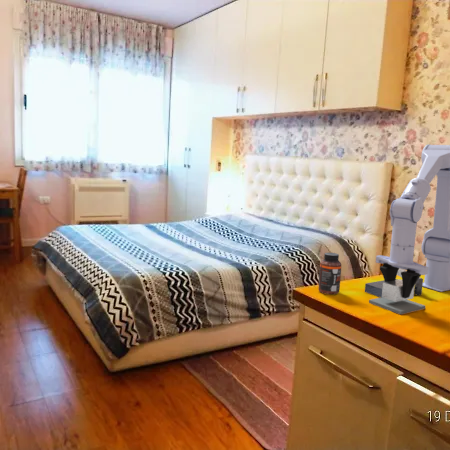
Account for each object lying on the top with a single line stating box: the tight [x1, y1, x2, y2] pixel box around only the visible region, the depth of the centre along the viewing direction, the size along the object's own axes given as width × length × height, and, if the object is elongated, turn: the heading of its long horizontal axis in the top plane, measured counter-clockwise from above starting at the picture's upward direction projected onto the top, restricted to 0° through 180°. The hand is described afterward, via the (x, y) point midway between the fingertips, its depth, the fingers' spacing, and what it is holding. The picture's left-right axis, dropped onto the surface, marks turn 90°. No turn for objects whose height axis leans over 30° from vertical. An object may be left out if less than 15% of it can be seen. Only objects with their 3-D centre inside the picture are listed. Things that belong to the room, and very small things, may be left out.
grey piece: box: [364, 278, 399, 298], centre depth 130 cm, size 13×7×2 cm, turn 122°
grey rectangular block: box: [382, 278, 415, 302], centre depth 117 cm, size 7×4×4 cm, turn 122°
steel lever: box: [397, 268, 424, 296], centre depth 136 cm, size 2×18×5 cm, turn 7°
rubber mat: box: [368, 297, 426, 315], centre depth 118 cm, size 10×10×1 cm
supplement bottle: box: [318, 252, 342, 295], centre depth 127 cm, size 6×6×11 cm
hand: (397, 294), depth 117 cm, fingers closed on grey rectangular block, 4 cm apart
